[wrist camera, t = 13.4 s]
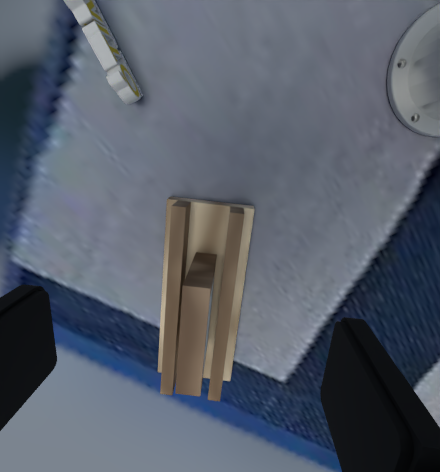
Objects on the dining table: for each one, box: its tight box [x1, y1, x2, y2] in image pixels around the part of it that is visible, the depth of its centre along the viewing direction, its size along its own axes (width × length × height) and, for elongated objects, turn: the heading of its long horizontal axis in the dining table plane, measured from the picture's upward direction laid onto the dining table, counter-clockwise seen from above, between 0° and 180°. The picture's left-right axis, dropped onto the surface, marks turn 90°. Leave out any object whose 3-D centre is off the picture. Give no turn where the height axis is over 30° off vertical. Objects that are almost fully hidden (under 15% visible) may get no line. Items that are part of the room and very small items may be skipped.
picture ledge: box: [158, 197, 254, 401], centre depth 35 cm, size 10×24×6 cm, turn 174°
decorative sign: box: [63, 0, 143, 105], centre depth 26 cm, size 18×1×10 cm, turn 24°
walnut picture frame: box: [176, 252, 217, 396], centre depth 31 cm, size 2×12×9 cm, turn 174°
